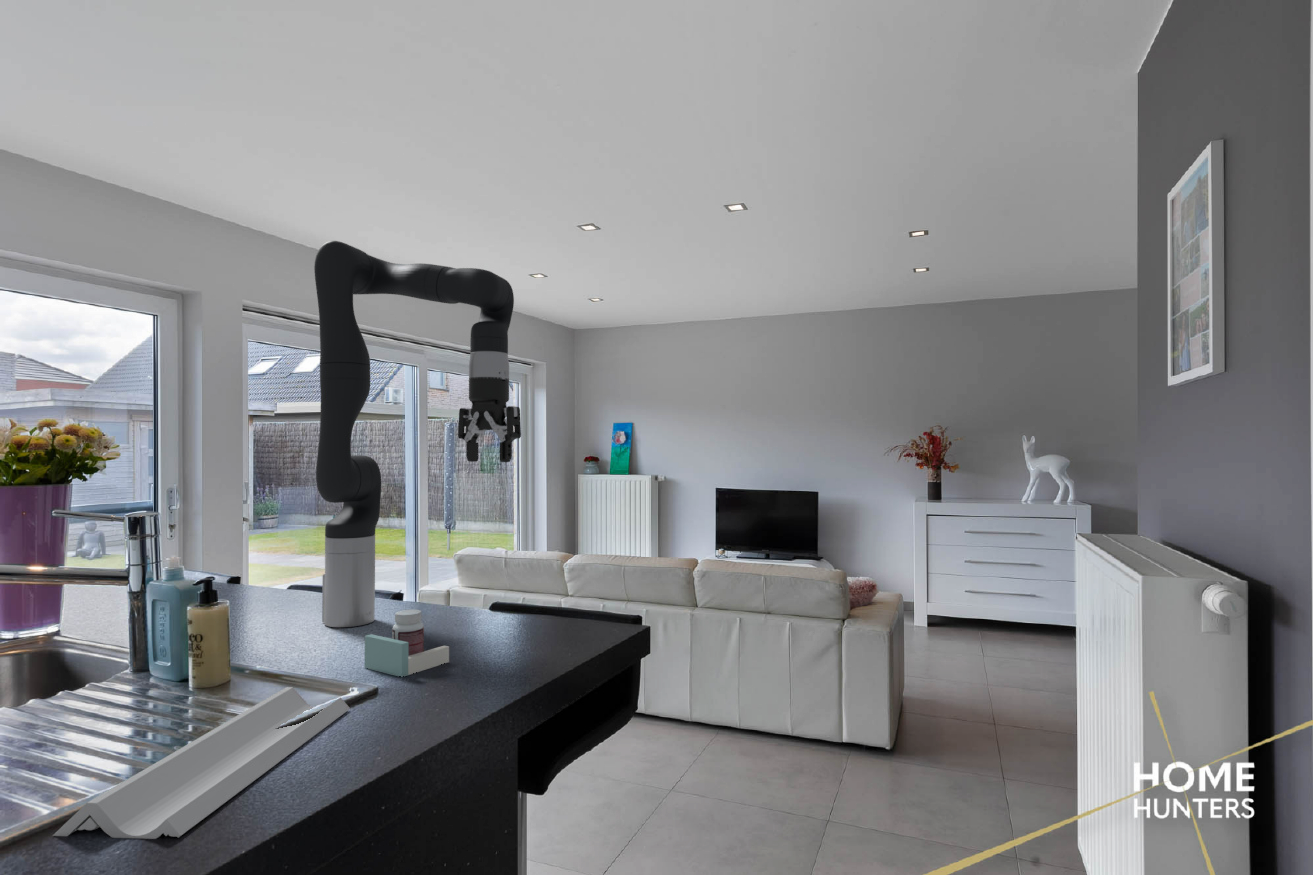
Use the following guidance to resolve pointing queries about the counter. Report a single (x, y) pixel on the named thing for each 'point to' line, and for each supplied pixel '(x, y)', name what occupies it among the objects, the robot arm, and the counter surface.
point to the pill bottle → (409, 630)
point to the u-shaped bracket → (400, 656)
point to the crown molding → (203, 771)
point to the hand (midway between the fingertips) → (488, 461)
